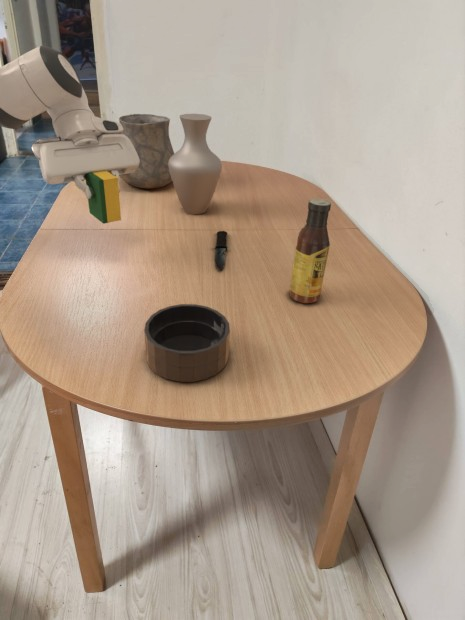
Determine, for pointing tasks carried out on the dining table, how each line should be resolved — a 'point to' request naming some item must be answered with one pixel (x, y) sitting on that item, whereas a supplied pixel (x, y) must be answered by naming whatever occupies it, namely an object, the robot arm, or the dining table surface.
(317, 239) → the sauce bottle
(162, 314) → the bowl
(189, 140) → the vase
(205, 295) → the dining table surface
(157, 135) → the vessel
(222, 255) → the knife
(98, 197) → the sponge
